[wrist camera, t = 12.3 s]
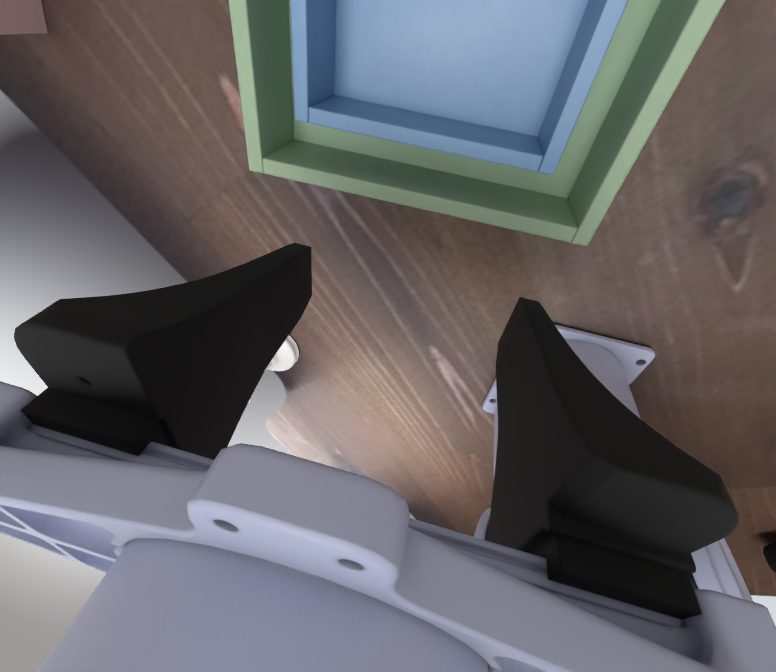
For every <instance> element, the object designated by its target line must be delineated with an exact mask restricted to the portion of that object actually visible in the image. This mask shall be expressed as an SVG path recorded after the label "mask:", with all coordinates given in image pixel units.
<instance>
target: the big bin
mask: <svg viewBox="0 0 776 672" xmlns="http://www.w3.org/2000/svg"><path fill="white" fill-rule="evenodd" d="M724 2H725V0H628V3H627V5H626V7H625V10H624V12H623V14H622V17H621V19H620V21H619V24H618V26H617V28H616V31H615V33H614V35H613V38H612V40H611V42H610V45H609V47H608V49H607V52H606V54H605V56H604V59H603V61H602V63H601V66H600V68H599V70H598V73H597V75H596V77H595V80H594V82H593V84H592V86H591V89H590V91H589V93H588V96H587V98H586V100H585V103H584V105H583V107H582V110H581V112H580V114H579V117H578V119H577V121H576V124H575V126H574V128H573V131H572V133H571V135H570V138H569V140H568V142H567V145H566V147H565V149H564V152H563V154H562V156H561V159H560V161H559V163H558V166H557V168H556V170H555V173H554V175H548V174H543V173H539V172H538V171H537V172H535V171H530V170H525V169H521V168H516V167H511V166H507V165H502V164H497V163H492V162H488V161H483V160H478V159H474V158H469V157H464V156H460V155H455V154H450V153H445V152H441V151H436V150H431V149H427V148H422V147H417V146H413V145H408V144H403V143H398V142H394V141H389V140H384V139H380V138H375V137H370V136H366V135H361V134H356V133H352V132H347V131H342V130H337V129H333V128H328V127H323V126H319V125H314V124H310V123H305V122H300V121H296V120H295V111H294V85H293V58H292V32H291V5H290V0H229V8H230V16H231V24H232V32H233V41H234V49H235V57H236V65H237V73H238V81H239V89H240V97H241V105H242V113H243V121H244V130H245V138H246V146H247V154H248V162H249V169H250V170H251V171H255V172H259V173H265V174H268V175H273V176H277V177H282V178H286V179H290V180H295V181H299V182H304V183H308V184H313V185H317V186H321V187H326V188H330V189H335V190H339V191H343V192H348V193H352V194H357V195H361V196H366V197H370V198H374V199H379V200H383V201H388V202H392V203H397V204H401V205H405V206H410V207H414V208H419V209H423V210H428V211H432V212H436V213H441V214H445V215H450V216H454V217H459V218H463V219H467V220H472V221H476V222H481V223H485V224H490V225H494V226H498V227H503V228H507V229H512V230H516V231H521V232H525V233H529V234H534V235H538V236H543V237H547V238H552V239H556V240H560V241H565V242H572V243H574V244H578V245H583V246H587V245H588V244H589V242H590V240H591V239H592V237H593V235H594V233H595V231H596V230H597V228H598V226H599V224H600V223H601V221H602V219H603V217H604V215H605V214H606V212H607V210H608V208H609V207H610V205H611V203H612V201H613V199H614V198H615V196H616V194H617V192H618V191H619V189H620V187H621V185H622V183H623V182H624V180H625V178H626V176H627V175H628V173H629V171H630V169H631V168H632V166H633V164H634V162H635V160H636V159H637V157H638V155H639V153H640V152H641V150H642V148H643V146H644V144H645V143H646V141H647V139H648V137H649V136H650V134H651V132H652V130H653V128H654V127H655V125H656V123H657V121H658V120H659V118H660V116H661V114H662V112H663V111H664V109H665V107H666V105H667V104H668V102H669V100H670V98H671V96H672V95H673V93H674V91H675V89H676V88H677V86H678V84H679V82H680V80H681V79H682V77H683V75H684V73H685V72H686V70H687V68H688V66H689V64H690V63H691V61H692V59H693V57H694V56H695V54H696V52H697V50H698V48H699V47H700V45H701V43H702V41H703V40H704V38H705V36H706V34H707V32H708V31H709V29H710V27H711V25H712V24H713V22H714V20H715V18H716V16H717V15H718V13H719V11H720V9H721V8H722V6H723V4H724Z"/></svg>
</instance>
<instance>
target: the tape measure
mask: <svg viewBox="0 0 776 672" xmlns="http://www.w3.org/2000/svg"><path fill="white" fill-rule="evenodd" d="M763 553H764V556H765V559H766V561H767V563H768V564H769V566H770V568H771V569H772V570H773V571H774V572H775V573H776V542H775V543H771V544H769V545H767V546H765V547H764V549H763Z"/></svg>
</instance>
